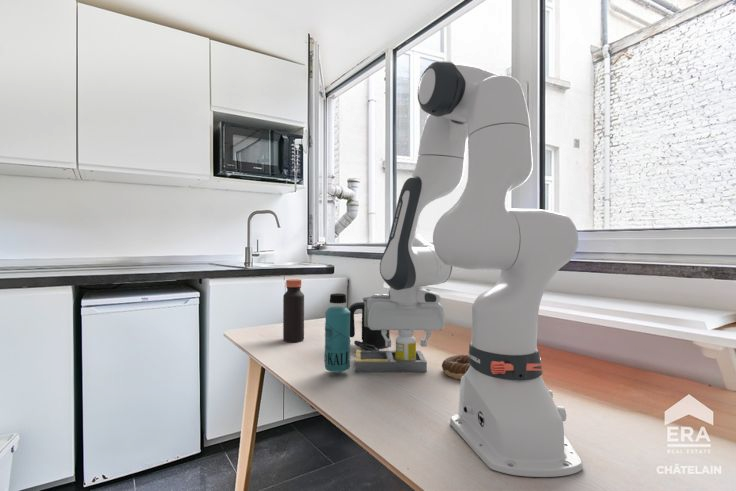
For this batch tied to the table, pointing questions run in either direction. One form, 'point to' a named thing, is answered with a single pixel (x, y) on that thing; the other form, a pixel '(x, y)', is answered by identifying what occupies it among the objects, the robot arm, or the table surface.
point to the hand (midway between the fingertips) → (405, 346)
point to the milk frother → (366, 329)
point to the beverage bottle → (337, 335)
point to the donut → (456, 366)
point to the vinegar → (293, 312)
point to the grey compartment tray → (388, 362)
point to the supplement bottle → (405, 345)
